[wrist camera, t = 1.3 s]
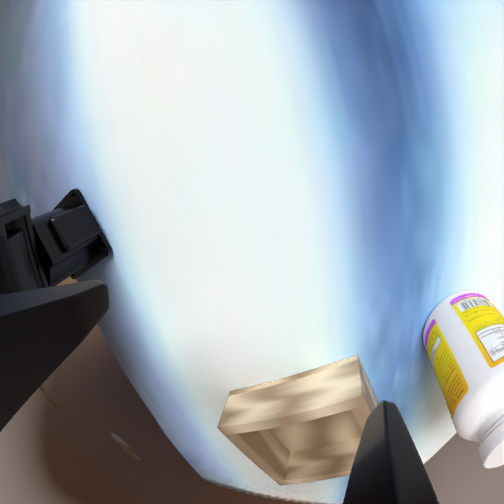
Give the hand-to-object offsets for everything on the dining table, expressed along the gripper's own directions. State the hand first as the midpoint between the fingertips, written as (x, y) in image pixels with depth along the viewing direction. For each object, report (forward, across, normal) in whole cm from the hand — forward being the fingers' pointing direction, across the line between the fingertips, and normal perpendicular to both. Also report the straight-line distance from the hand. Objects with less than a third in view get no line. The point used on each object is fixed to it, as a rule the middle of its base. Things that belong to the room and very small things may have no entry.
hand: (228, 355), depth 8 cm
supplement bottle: (+15, -14, +4) cm, 21 cm away
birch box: (+13, -6, +18) cm, 23 cm away
